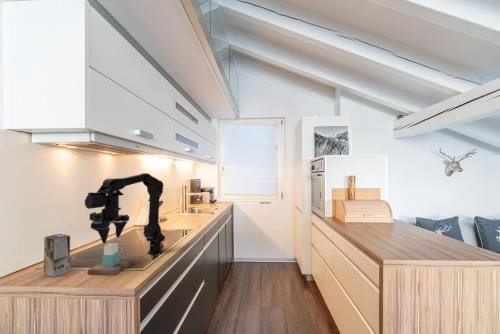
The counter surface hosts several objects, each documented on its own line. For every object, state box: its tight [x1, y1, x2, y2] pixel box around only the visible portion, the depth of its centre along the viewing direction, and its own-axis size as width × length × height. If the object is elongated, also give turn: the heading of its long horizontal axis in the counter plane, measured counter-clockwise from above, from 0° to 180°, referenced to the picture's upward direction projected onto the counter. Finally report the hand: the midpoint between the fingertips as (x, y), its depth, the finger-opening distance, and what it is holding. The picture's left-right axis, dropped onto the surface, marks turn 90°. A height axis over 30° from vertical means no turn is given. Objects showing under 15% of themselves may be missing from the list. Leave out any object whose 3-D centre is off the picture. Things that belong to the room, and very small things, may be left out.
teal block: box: [101, 251, 121, 267], centre depth 108 cm, size 5×5×5 cm
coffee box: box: [43, 233, 71, 278], centre depth 104 cm, size 9×6×16 cm
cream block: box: [103, 242, 119, 255], centre depth 108 cm, size 4×4×4 cm
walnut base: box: [87, 258, 133, 276], centre depth 108 cm, size 13×12×2 cm
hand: (111, 240), depth 109 cm, fingers open, 9 cm apart
